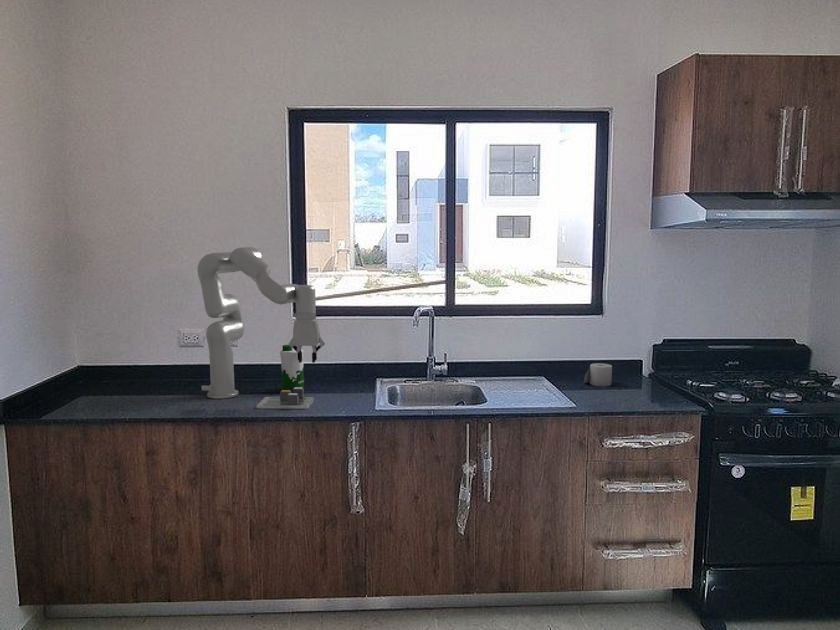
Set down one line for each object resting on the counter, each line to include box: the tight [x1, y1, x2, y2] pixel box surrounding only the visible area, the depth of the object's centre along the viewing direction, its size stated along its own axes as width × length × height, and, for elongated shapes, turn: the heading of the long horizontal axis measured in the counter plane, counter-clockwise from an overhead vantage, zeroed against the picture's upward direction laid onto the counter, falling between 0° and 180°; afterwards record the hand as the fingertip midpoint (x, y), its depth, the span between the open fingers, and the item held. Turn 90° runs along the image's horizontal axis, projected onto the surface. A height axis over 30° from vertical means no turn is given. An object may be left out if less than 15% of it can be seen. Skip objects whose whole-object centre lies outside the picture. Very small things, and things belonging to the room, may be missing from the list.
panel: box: [256, 396, 315, 410], centre depth 250 cm, size 20×13×1 cm, turn 89°
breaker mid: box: [279, 389, 291, 401], centre depth 250 cm, size 4×2×4 cm, turn 89°
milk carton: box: [279, 344, 305, 393], centre depth 270 cm, size 9×9×20 cm
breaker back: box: [293, 387, 305, 398], centre depth 255 cm, size 4×2×4 cm, turn 89°
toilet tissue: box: [583, 362, 613, 387], centre depth 283 cm, size 9×13×9 cm
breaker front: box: [287, 393, 299, 405], centre depth 245 cm, size 4×2×4 cm, turn 89°
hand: (307, 361), depth 248 cm, fingers open, 4 cm apart
